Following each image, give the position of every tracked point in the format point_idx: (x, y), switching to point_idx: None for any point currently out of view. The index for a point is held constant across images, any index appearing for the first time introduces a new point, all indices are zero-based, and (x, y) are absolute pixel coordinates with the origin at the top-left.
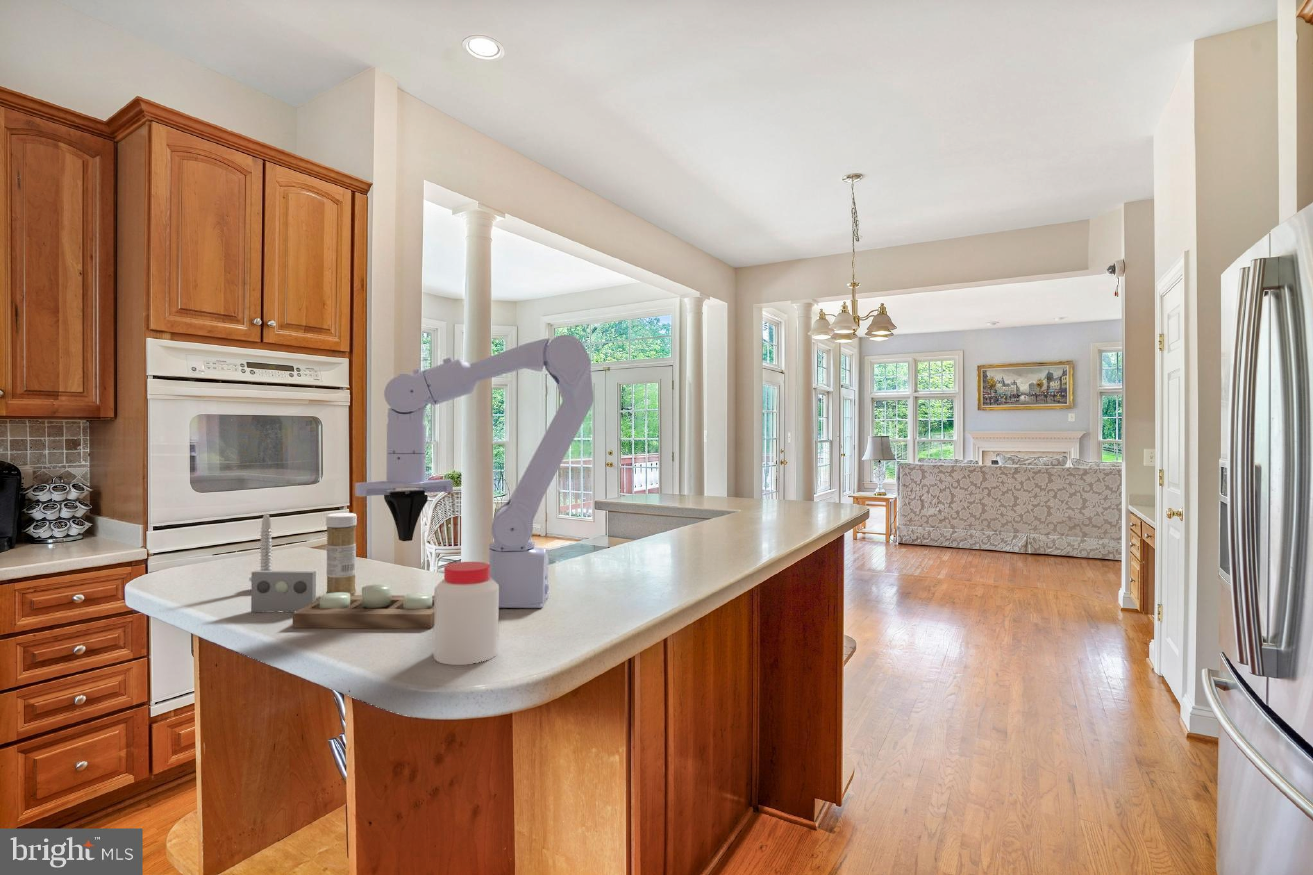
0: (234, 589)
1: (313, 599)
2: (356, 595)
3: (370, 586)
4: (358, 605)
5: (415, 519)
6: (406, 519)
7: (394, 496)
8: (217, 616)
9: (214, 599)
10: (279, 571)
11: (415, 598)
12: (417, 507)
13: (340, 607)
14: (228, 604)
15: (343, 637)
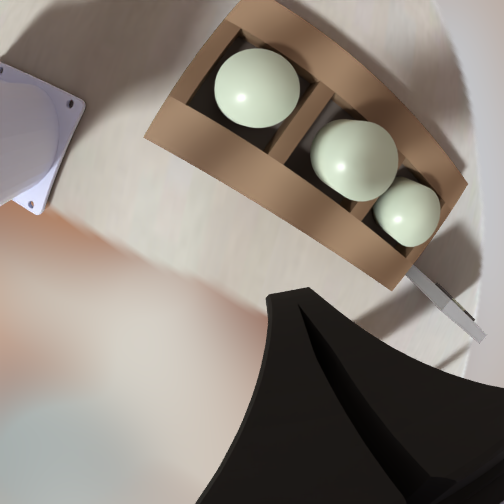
0: None
1: (415, 273)
2: (354, 261)
3: (374, 180)
4: None
5: (281, 365)
6: (354, 351)
7: (496, 474)
8: (475, 293)
9: (442, 368)
10: (469, 328)
11: (271, 67)
12: (299, 440)
13: (405, 180)
14: (446, 344)
15: (407, 60)
